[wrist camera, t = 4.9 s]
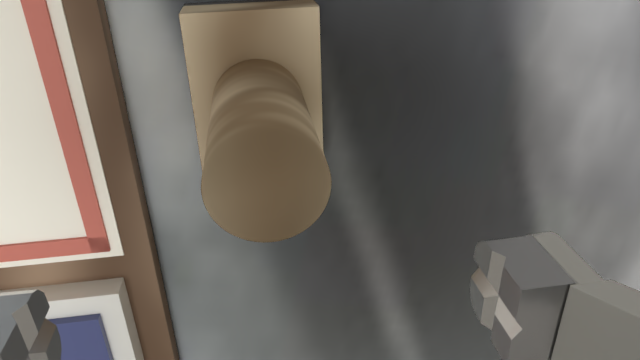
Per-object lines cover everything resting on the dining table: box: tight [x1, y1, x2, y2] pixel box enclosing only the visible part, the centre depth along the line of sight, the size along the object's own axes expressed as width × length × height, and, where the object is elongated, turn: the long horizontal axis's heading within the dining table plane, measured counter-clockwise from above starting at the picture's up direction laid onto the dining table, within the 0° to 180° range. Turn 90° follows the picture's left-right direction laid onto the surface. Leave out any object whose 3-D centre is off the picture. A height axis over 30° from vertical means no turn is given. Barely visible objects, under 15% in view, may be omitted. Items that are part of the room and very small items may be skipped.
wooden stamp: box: [179, 0, 331, 242], centre depth 18 cm, size 5×7×9 cm
